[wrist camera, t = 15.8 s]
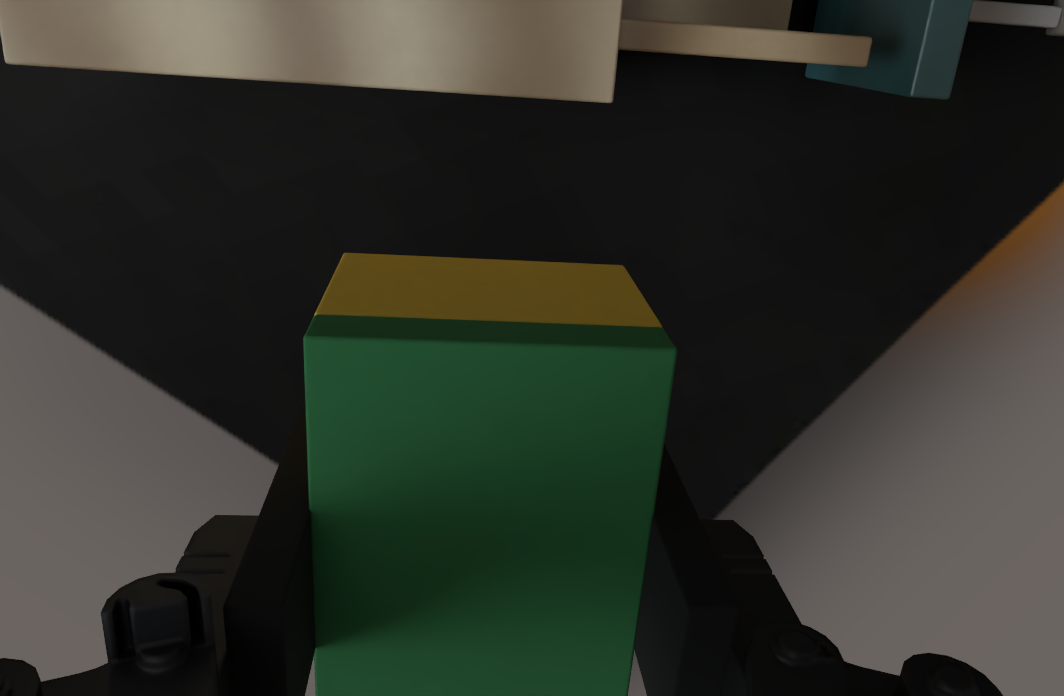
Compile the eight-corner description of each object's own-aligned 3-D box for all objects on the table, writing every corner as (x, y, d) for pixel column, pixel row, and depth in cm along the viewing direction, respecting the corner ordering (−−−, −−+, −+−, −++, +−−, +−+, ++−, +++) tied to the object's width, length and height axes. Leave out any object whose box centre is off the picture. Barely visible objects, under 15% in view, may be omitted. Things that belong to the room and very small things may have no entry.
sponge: (342, 251, 16) (302, 336, 12) (624, 264, 17) (678, 349, 12) (348, 609, 19) (318, 775, 15) (584, 610, 20) (618, 770, 16)
